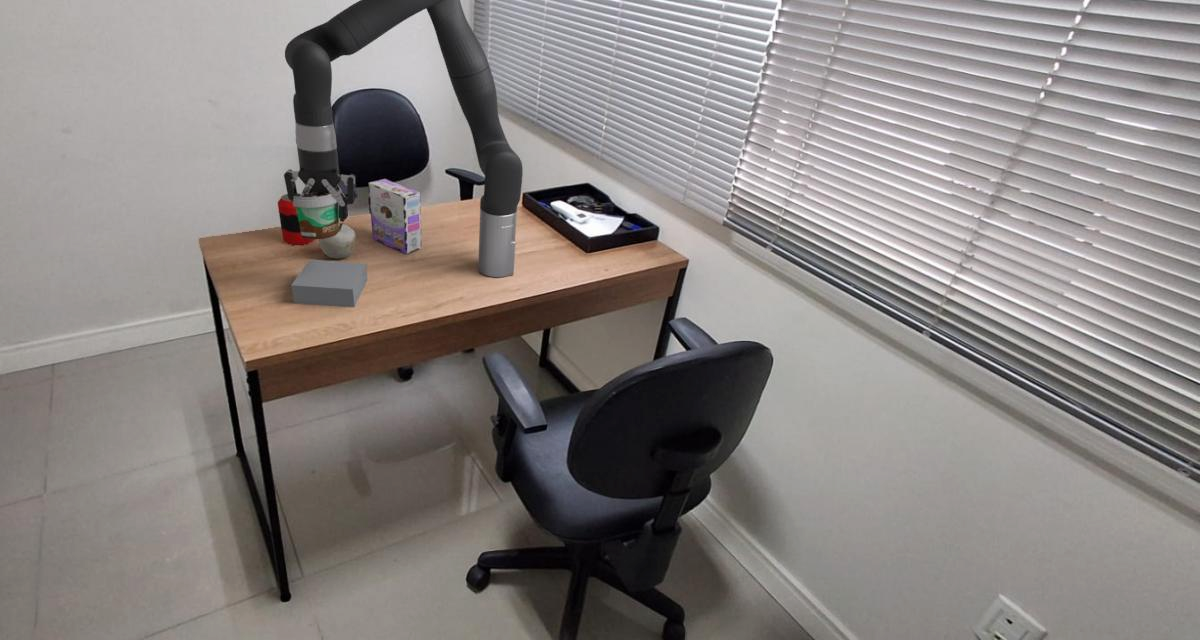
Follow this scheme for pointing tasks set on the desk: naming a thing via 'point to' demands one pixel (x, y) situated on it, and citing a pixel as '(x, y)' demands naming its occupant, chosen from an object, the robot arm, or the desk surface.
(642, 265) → the desk surface
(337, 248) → the decorative object
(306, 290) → the grey block
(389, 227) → the candy box
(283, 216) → the soda can
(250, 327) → the desk surface
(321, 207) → the food container
